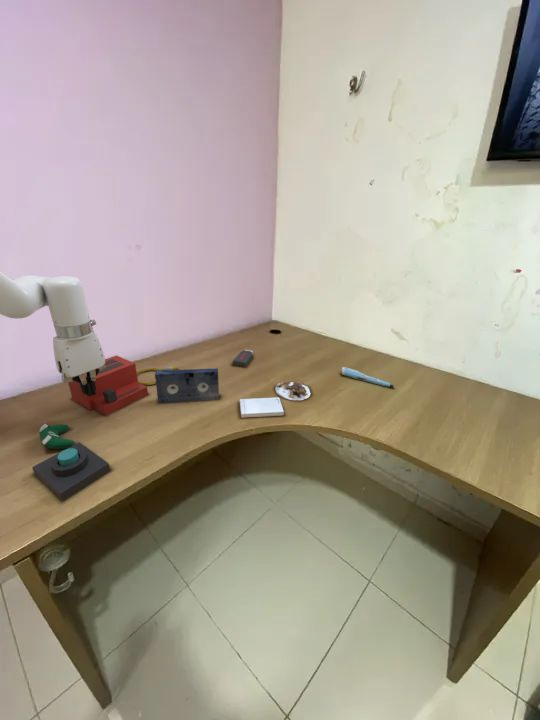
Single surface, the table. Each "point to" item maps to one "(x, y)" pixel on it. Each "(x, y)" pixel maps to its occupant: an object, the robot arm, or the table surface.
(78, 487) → the control block
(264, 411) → the hard drive
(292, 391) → the plate of food
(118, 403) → the toaster
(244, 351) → the usb drive
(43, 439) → the green piece
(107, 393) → the toaster slider
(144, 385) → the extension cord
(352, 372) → the light blue tapered rod
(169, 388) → the vhs cassette tape
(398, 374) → the table surface
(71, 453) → the button
